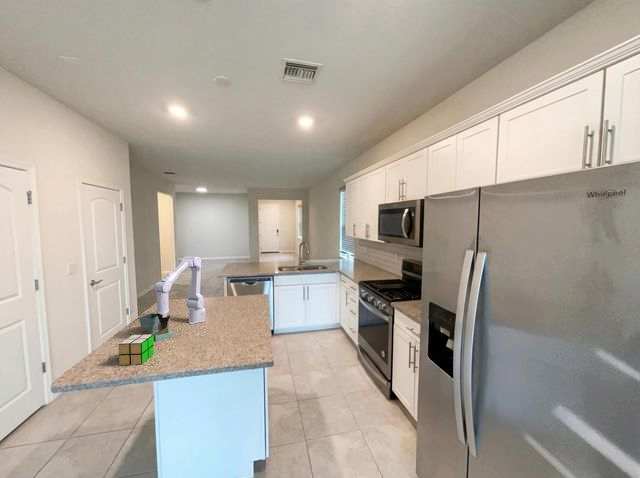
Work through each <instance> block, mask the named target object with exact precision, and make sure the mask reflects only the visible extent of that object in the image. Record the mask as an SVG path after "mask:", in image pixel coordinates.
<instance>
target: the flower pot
mask: <svg viewBox="0 0 640 478" xmlns="http://www.w3.org/2000/svg"><path fill="white" fill-rule="evenodd" d="M138 320H139V324H140V327H141V329H142V331H144V332H148V333H153V332H156V331H157V330H158V323H159V319H158V315H157V314H156V313H155V312H154V313H152V312H151V313H149V314H146V315H143V316H140V317H139V318H138Z"/></svg>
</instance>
